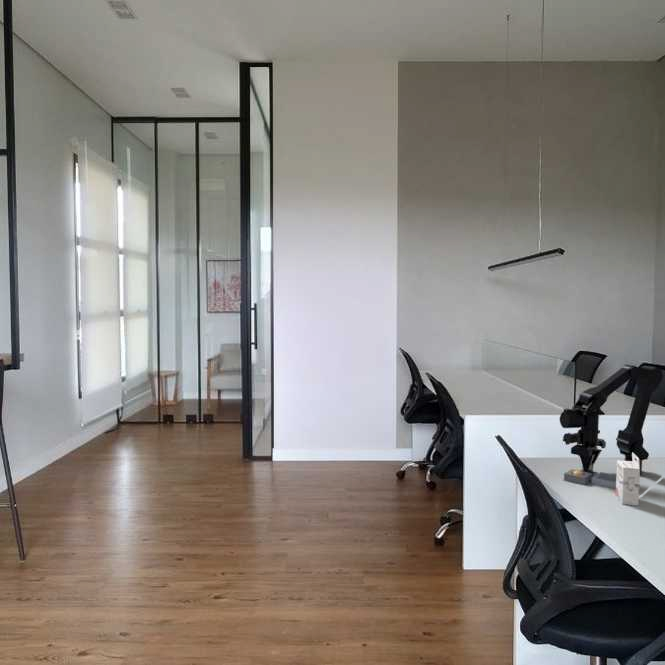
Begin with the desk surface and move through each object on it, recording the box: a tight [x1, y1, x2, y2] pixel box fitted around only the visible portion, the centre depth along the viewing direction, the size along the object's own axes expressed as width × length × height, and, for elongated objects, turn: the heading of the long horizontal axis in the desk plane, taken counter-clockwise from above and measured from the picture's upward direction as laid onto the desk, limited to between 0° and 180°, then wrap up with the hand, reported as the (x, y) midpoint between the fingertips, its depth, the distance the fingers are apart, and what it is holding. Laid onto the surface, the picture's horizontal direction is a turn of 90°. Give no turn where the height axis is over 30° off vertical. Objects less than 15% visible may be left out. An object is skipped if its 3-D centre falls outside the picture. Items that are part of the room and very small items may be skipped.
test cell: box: [581, 463, 594, 474], centre depth 216 cm, size 4×4×4 cm
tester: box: [563, 469, 599, 486], centre depth 213 cm, size 16×8×3 cm, turn 139°
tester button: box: [574, 470, 583, 476], centre depth 209 cm, size 3×3×2 cm
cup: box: [591, 471, 617, 490], centre depth 207 cm, size 9×9×2 cm
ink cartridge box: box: [615, 452, 641, 506], centre depth 191 cm, size 9×5×15 cm, turn 168°
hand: (587, 470), depth 216 cm, fingers closed on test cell, 4 cm apart
